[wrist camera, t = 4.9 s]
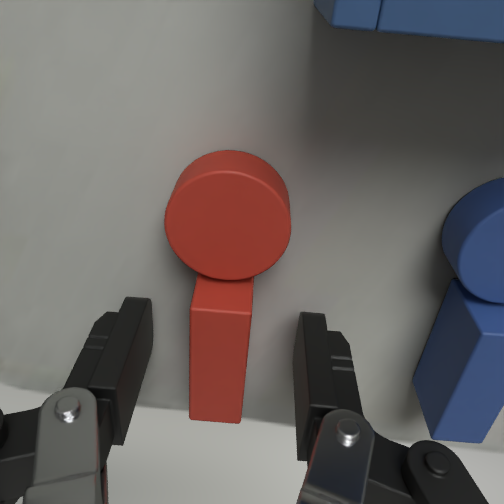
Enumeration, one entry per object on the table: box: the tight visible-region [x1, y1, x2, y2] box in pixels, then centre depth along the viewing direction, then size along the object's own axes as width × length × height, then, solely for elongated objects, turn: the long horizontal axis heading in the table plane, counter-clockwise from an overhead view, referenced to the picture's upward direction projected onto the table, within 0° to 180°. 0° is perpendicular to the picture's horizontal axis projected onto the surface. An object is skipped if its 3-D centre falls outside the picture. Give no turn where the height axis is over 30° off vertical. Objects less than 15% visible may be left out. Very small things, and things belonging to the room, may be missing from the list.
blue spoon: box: [412, 178, 504, 443], centre depth 13 cm, size 8×3×2 cm, turn 175°
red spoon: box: [164, 150, 291, 424], centre depth 13 cm, size 8×3×2 cm, turn 175°
